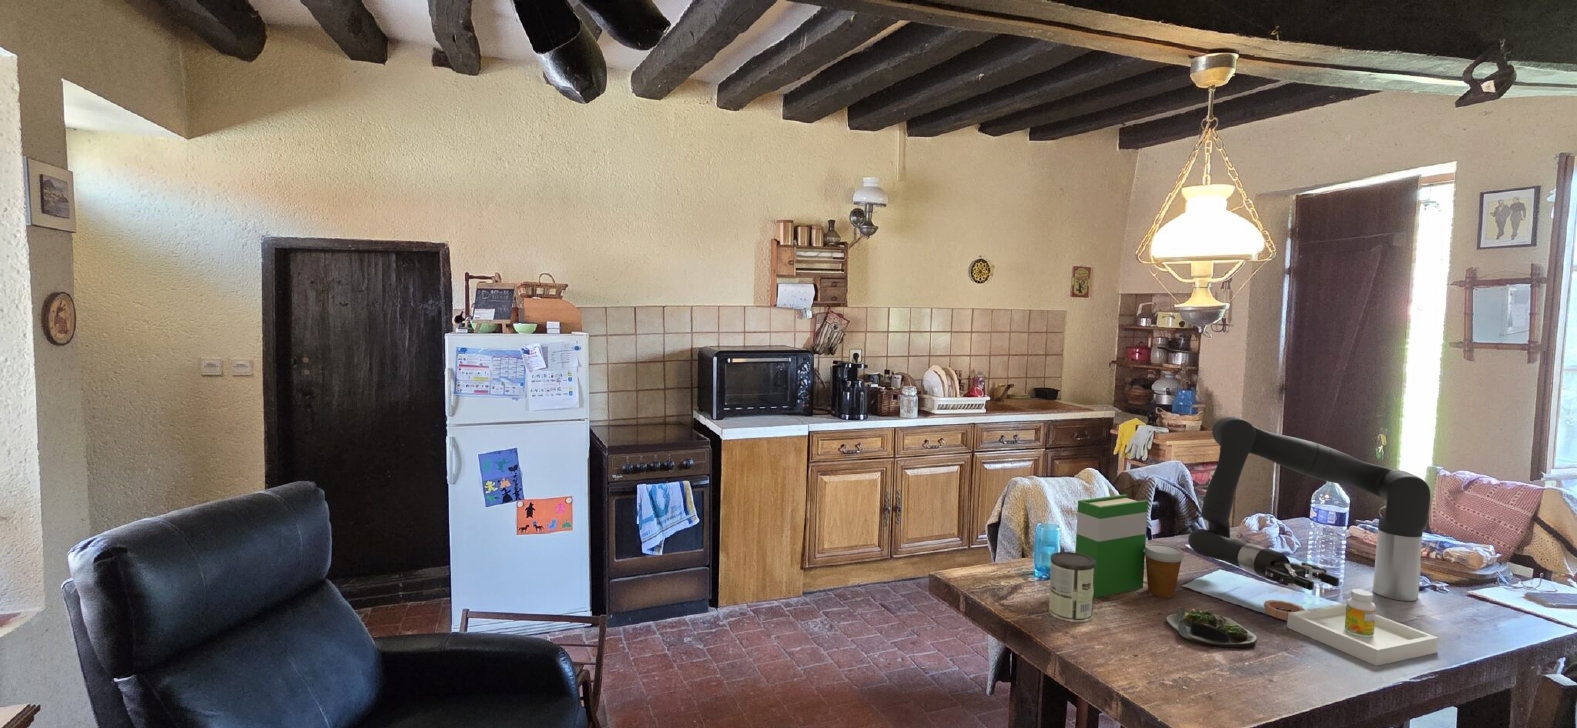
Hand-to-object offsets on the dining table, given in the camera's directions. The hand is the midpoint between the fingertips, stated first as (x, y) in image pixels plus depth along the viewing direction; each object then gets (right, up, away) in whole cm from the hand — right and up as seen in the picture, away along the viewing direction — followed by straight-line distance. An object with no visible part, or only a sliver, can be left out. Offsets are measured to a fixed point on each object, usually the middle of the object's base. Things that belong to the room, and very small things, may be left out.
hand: (1325, 584), depth 181 cm
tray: (+3, -11, -7) cm, 13 cm away
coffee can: (-60, -9, +4) cm, 61 cm away
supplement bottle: (+3, -9, -7) cm, 12 cm away
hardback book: (-43, -8, +22) cm, 49 cm away
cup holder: (-6, -9, +7) cm, 13 cm away
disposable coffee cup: (-30, -8, +19) cm, 37 cm away
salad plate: (-31, -11, -5) cm, 33 cm away
